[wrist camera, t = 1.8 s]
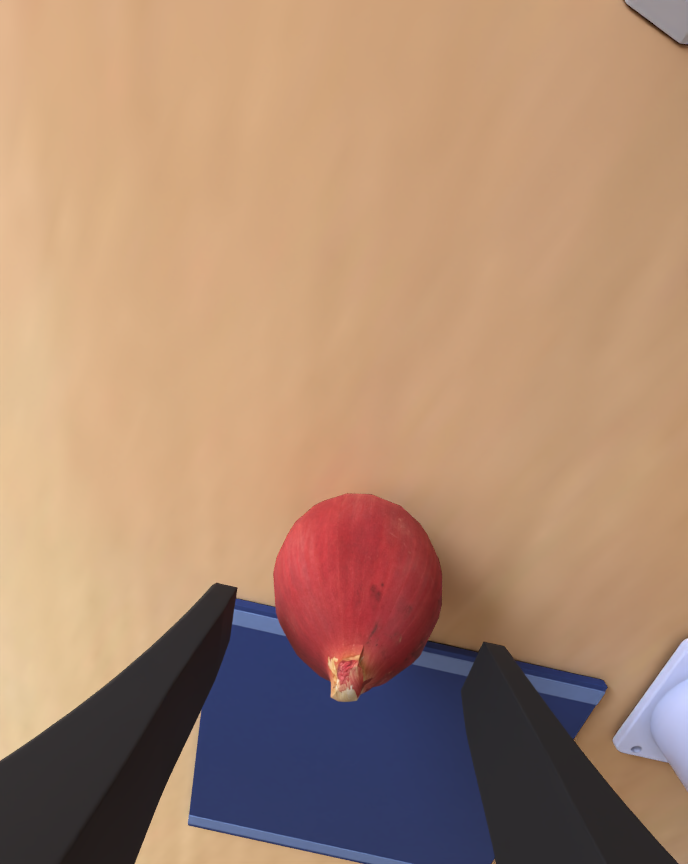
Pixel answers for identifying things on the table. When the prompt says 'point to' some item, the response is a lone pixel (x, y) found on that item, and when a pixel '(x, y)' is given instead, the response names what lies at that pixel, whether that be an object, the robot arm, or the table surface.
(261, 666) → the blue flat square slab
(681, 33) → the french press
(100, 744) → the robot arm
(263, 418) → the table surface
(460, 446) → the table surface
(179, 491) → the table surface
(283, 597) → the onion
